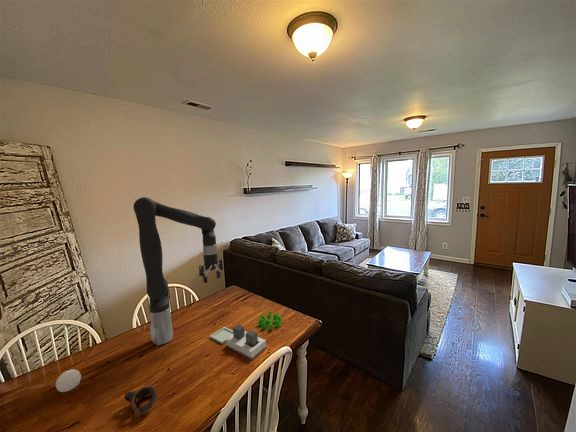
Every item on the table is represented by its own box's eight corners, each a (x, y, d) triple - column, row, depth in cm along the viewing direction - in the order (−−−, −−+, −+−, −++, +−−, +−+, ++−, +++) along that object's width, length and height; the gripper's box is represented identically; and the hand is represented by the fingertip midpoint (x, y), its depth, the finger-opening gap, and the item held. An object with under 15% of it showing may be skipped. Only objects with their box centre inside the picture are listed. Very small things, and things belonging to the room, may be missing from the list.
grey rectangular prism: (253, 352, 116) (252, 336, 115) (246, 348, 119) (245, 333, 118) (258, 347, 119) (257, 332, 118) (251, 344, 122) (250, 329, 121)
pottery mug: (163, 392, 97) (161, 383, 92) (152, 422, 89) (149, 413, 84) (131, 389, 95) (128, 380, 91) (117, 419, 87) (113, 411, 83)
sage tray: (222, 344, 125) (222, 342, 125) (209, 337, 130) (209, 335, 130) (236, 334, 133) (236, 332, 133) (224, 328, 139) (224, 326, 138)
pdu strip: (252, 359, 112) (250, 341, 111) (226, 346, 123) (224, 329, 122) (266, 347, 121) (265, 330, 119) (240, 336, 131) (239, 320, 130)
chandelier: (288, 321, 143) (287, 310, 142) (272, 335, 131) (271, 323, 130) (268, 315, 152) (267, 304, 151) (251, 327, 139) (251, 315, 139)
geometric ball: (52, 400, 95) (49, 381, 94) (64, 384, 103) (61, 367, 102) (75, 394, 97) (72, 376, 96) (86, 379, 105) (83, 362, 104)
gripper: (203, 256, 129) (205, 285, 131) (224, 250, 141) (226, 277, 142) (194, 254, 134) (197, 283, 136) (216, 248, 145) (218, 275, 147)
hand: (212, 280), depth 139 cm, fingers open, 8 cm apart
